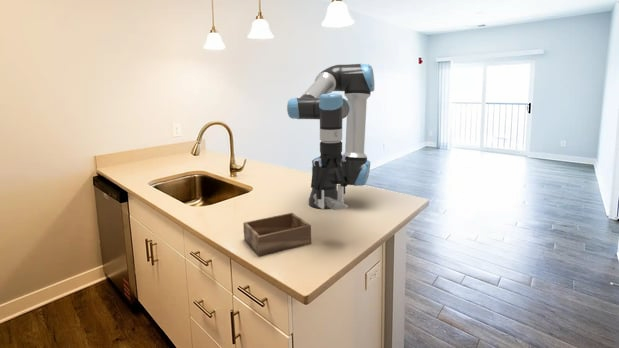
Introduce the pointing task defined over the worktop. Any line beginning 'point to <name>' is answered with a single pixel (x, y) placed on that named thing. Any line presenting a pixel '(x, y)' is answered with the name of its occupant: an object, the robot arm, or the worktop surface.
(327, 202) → the mineral specimen
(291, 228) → the walnut well
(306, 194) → the worktop surface
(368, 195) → the worktop surface
